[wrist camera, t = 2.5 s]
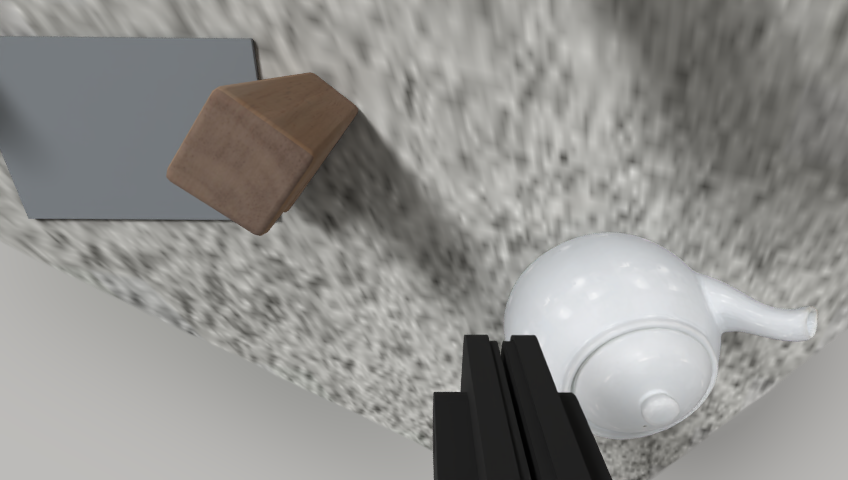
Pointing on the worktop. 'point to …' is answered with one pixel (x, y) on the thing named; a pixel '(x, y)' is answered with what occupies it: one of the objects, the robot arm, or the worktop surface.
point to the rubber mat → (108, 120)
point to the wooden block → (260, 146)
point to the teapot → (635, 329)
